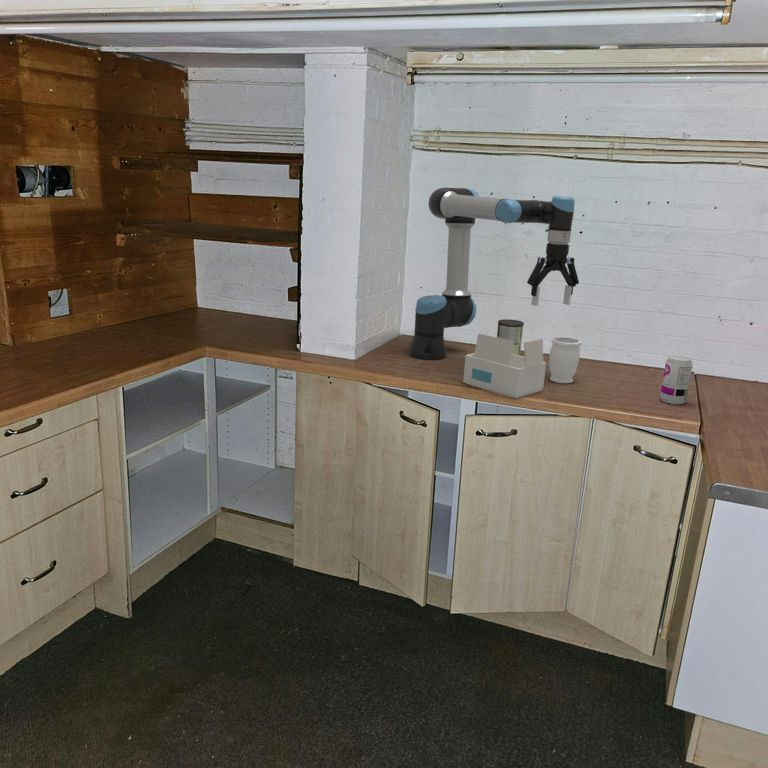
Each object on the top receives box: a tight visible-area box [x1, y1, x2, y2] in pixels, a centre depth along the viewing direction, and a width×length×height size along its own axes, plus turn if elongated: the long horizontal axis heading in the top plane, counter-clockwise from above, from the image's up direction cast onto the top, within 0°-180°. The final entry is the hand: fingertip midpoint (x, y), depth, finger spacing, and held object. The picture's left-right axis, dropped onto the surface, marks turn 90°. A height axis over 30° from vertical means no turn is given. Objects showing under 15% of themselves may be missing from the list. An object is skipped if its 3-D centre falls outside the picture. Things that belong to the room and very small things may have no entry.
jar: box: [548, 336, 582, 384], centre depth 250 cm, size 11×10×15 cm
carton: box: [462, 352, 547, 400], centre depth 239 cm, size 23×17×10 cm
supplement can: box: [659, 355, 694, 406], centre depth 231 cm, size 8×8×15 cm
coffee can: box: [496, 318, 525, 356], centre depth 283 cm, size 10×10×14 cm
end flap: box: [523, 338, 544, 367], centre depth 229 cm, size 8×10×1 cm
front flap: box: [473, 332, 514, 366], centre depth 230 cm, size 14×8×1 cm
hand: (550, 304), depth 243 cm, fingers open, 13 cm apart
